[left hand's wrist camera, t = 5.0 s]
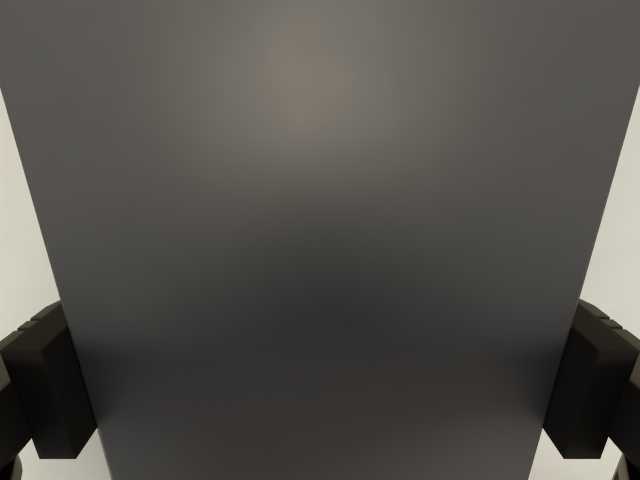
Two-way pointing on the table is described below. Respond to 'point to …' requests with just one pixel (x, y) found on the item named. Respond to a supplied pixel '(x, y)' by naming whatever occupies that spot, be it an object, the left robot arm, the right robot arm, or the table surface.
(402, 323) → the thick board
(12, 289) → the table surface
